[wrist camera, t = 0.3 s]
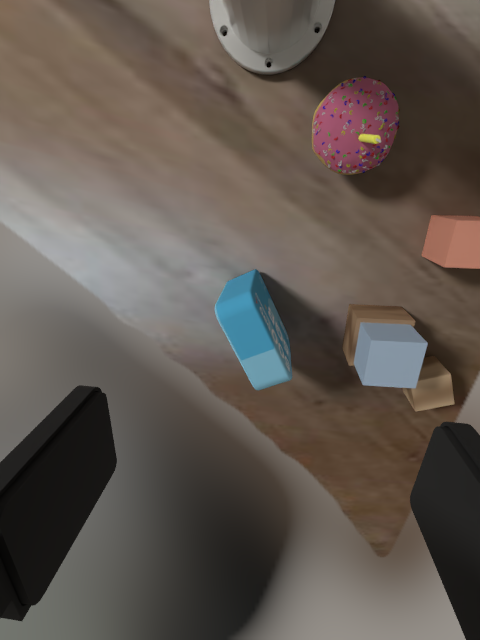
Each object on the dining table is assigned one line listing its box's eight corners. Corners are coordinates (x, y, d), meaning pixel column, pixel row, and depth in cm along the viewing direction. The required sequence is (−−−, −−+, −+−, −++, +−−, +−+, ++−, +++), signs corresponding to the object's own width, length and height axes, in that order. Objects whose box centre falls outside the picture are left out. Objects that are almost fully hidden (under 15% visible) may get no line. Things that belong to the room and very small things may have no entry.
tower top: (360, 322, 40) (371, 340, 35) (410, 324, 39) (427, 343, 34) (353, 363, 42) (362, 385, 37) (400, 365, 41) (415, 388, 37)
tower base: (349, 303, 44) (357, 317, 39) (401, 306, 43) (415, 320, 39) (342, 347, 47) (349, 365, 42) (390, 350, 46) (403, 369, 42)
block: (397, 363, 47) (410, 382, 42) (433, 355, 46) (450, 374, 41) (402, 390, 48) (415, 411, 44) (437, 383, 47) (454, 404, 43)
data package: (289, 338, 47) (293, 385, 36) (262, 348, 48) (257, 396, 37) (256, 266, 43) (249, 294, 32) (227, 278, 44) (211, 310, 33)
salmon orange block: (431, 215, 38) (456, 220, 33) (475, 216, 38) (508, 221, 32) (421, 255, 40) (444, 267, 35) (462, 257, 40) (492, 269, 34)
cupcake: (391, 157, 36) (441, 146, 25) (320, 188, 38) (337, 190, 28) (373, 74, 34) (420, 21, 23) (297, 112, 36) (306, 80, 25)
